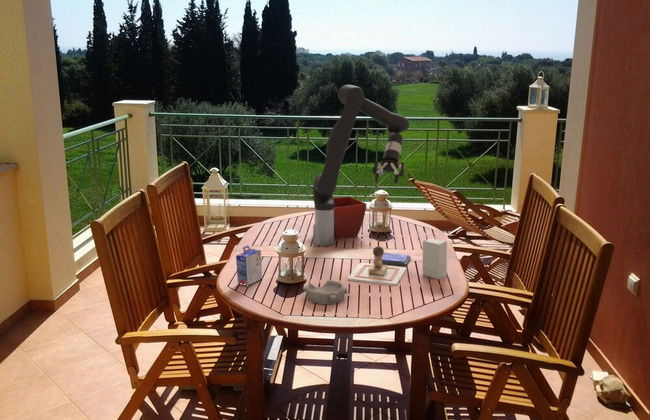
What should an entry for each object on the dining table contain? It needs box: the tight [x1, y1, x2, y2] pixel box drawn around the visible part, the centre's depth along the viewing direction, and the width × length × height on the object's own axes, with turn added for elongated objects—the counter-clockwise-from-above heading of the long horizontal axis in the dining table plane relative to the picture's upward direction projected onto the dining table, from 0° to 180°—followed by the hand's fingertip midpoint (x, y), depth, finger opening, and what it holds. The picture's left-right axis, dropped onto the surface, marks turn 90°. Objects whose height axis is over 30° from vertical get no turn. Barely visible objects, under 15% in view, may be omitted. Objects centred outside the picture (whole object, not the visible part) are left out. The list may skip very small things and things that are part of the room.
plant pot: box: [333, 196, 367, 240], centre depth 312 cm, size 19×19×17 cm
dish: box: [303, 280, 348, 305], centre depth 232 cm, size 14×14×5 cm
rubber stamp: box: [368, 245, 389, 276], centre depth 256 cm, size 6×6×11 cm
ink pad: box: [382, 252, 412, 268], centre depth 274 cm, size 14×11×2 cm
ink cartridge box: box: [235, 245, 263, 285], centre depth 248 cm, size 10×6×14 cm, turn 149°
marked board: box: [346, 262, 407, 286], centre depth 257 cm, size 20×20×1 cm
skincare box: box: [422, 237, 448, 280], centre depth 255 cm, size 8×6×15 cm
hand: (386, 182), depth 287 cm, fingers open, 8 cm apart
